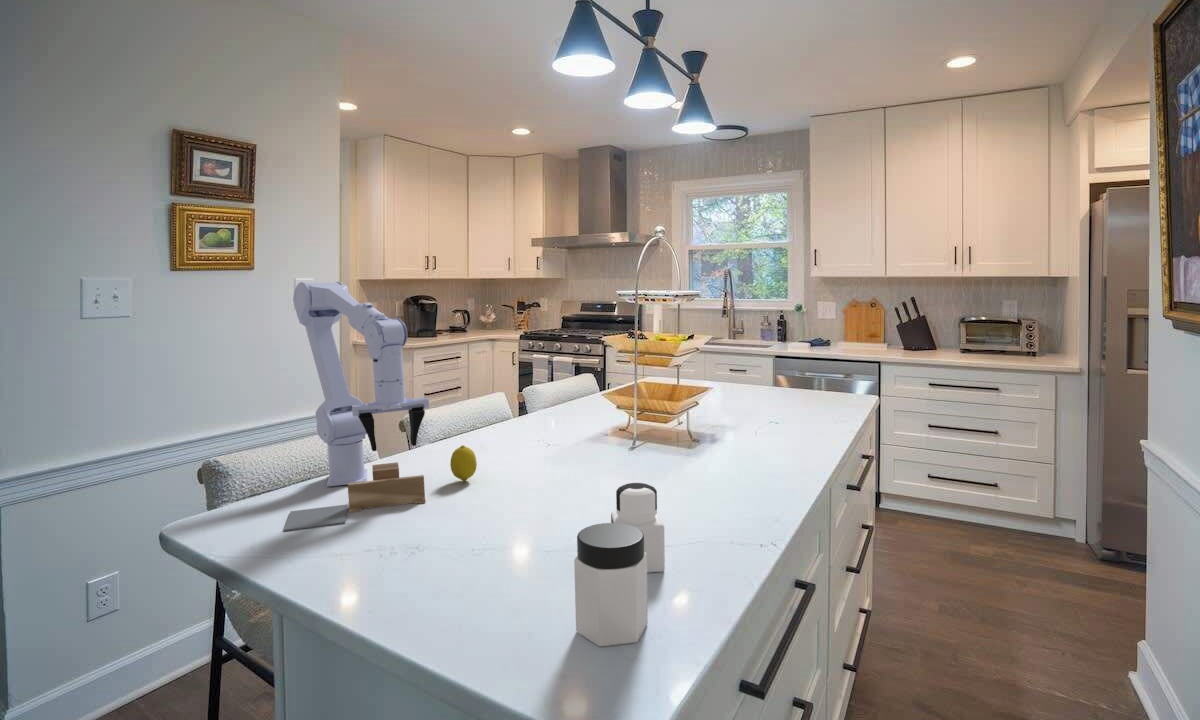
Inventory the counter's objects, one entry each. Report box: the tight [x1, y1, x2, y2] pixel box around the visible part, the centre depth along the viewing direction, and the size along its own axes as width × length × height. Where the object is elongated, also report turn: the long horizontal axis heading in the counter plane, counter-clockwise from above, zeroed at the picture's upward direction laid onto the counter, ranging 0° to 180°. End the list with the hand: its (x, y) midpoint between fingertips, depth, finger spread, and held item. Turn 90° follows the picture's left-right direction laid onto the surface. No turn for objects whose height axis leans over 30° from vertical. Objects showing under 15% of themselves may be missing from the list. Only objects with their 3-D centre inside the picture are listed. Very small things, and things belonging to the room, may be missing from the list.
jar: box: [573, 522, 649, 648], centre depth 79 cm, size 9×8×12 cm
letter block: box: [372, 461, 400, 481], centre depth 132 cm, size 5×5×6 cm
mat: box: [283, 503, 348, 532], centre depth 120 cm, size 10×10×1 cm
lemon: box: [449, 445, 478, 482], centre depth 140 cm, size 6×6×8 cm
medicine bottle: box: [610, 482, 666, 574], centre depth 97 cm, size 7×7×12 cm
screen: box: [347, 474, 426, 513], centre depth 126 cm, size 3×14×5 cm, turn 109°
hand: (394, 447), depth 130 cm, fingers open, 7 cm apart
